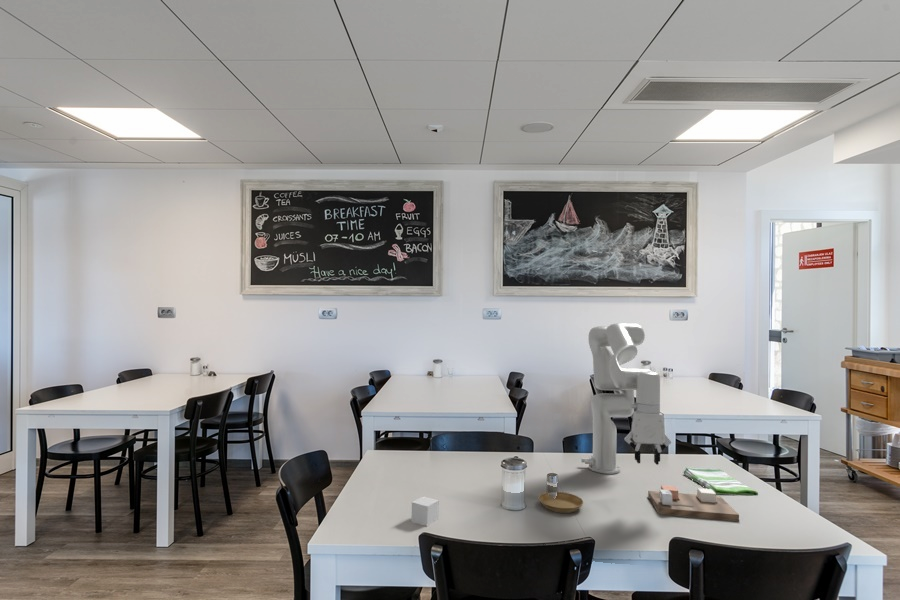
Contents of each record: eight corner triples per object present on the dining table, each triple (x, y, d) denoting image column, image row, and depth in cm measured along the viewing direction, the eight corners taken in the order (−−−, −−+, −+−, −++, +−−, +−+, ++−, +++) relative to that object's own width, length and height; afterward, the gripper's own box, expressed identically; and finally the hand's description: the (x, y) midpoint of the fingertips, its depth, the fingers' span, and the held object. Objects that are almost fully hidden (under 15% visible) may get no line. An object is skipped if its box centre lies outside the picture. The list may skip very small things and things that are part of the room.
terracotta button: (664, 498, 170) (664, 489, 170) (660, 493, 174) (660, 485, 174) (678, 499, 169) (678, 490, 169) (674, 494, 173) (674, 486, 173)
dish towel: (723, 475, 204) (723, 467, 204) (759, 496, 181) (760, 486, 181) (682, 475, 203) (682, 466, 203) (714, 496, 180) (714, 486, 180)
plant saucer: (529, 502, 170) (530, 494, 170) (565, 496, 176) (565, 489, 176) (555, 519, 156) (555, 510, 156) (592, 512, 162) (592, 504, 162)
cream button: (701, 501, 168) (701, 492, 168) (697, 496, 172) (697, 488, 172) (716, 502, 167) (716, 493, 167) (711, 497, 171) (711, 489, 171)
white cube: (427, 526, 149) (427, 506, 149) (411, 521, 152) (411, 502, 152) (438, 519, 154) (438, 500, 154) (422, 515, 157) (423, 496, 157)
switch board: (659, 514, 161) (659, 507, 161) (648, 496, 177) (648, 490, 177) (738, 521, 157) (739, 514, 157) (720, 502, 173) (720, 496, 173)
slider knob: (662, 504, 163) (662, 493, 163) (659, 500, 167) (659, 489, 167) (672, 505, 162) (672, 494, 162) (669, 500, 166) (669, 490, 166)
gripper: (623, 409, 164) (622, 464, 164) (677, 412, 161) (677, 468, 161) (619, 405, 172) (618, 457, 171) (671, 407, 169) (671, 461, 168)
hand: (647, 462), depth 166 cm, fingers open, 5 cm apart
